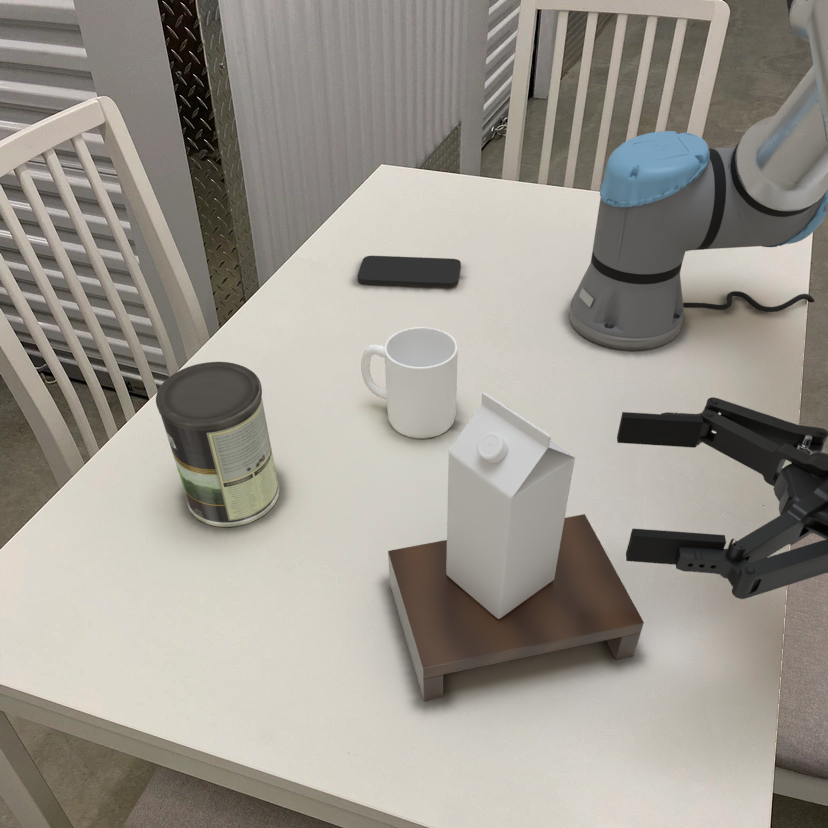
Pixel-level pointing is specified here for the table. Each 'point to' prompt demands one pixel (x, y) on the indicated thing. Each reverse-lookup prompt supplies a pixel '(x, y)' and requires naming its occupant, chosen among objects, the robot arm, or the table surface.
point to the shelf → (520, 628)
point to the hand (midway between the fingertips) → (623, 482)
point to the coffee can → (220, 442)
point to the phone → (409, 271)
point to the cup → (417, 380)
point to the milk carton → (505, 507)
